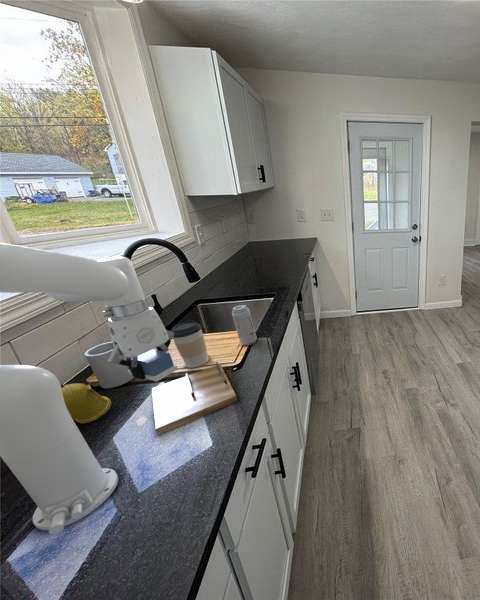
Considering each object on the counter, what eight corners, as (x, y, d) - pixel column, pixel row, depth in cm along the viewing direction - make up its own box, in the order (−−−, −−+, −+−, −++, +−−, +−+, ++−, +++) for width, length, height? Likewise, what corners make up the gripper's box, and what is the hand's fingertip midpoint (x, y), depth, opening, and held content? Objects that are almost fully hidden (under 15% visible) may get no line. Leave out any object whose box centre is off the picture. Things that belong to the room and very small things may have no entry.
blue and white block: (178, 369, 83) (172, 352, 81) (156, 381, 78) (149, 363, 76) (151, 363, 87) (144, 346, 85) (129, 374, 82) (121, 357, 80)
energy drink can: (256, 344, 121) (247, 308, 115) (239, 347, 119) (229, 311, 114) (257, 337, 126) (248, 303, 121) (241, 340, 125) (231, 305, 119)
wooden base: (237, 401, 90) (234, 391, 89) (158, 435, 79) (153, 424, 78) (221, 368, 106) (219, 360, 105) (153, 393, 96) (149, 384, 94)
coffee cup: (202, 369, 107) (188, 330, 101) (176, 370, 107) (161, 331, 101) (217, 354, 115) (205, 318, 109) (193, 355, 115) (179, 319, 110)
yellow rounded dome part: (103, 428, 83) (77, 382, 77) (63, 439, 80) (33, 392, 74) (119, 402, 93) (97, 359, 87) (84, 411, 90) (59, 367, 84)
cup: (98, 381, 104) (82, 350, 99) (132, 368, 110) (119, 338, 105) (103, 392, 98) (86, 359, 93) (138, 377, 104) (124, 346, 100)
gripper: (95, 325, 67) (126, 394, 74) (173, 297, 82) (193, 356, 89) (75, 321, 70) (107, 388, 77) (155, 295, 85) (175, 353, 91)
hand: (153, 370), depth 83 cm, fingers closed on blue and white block, 5 cm apart
